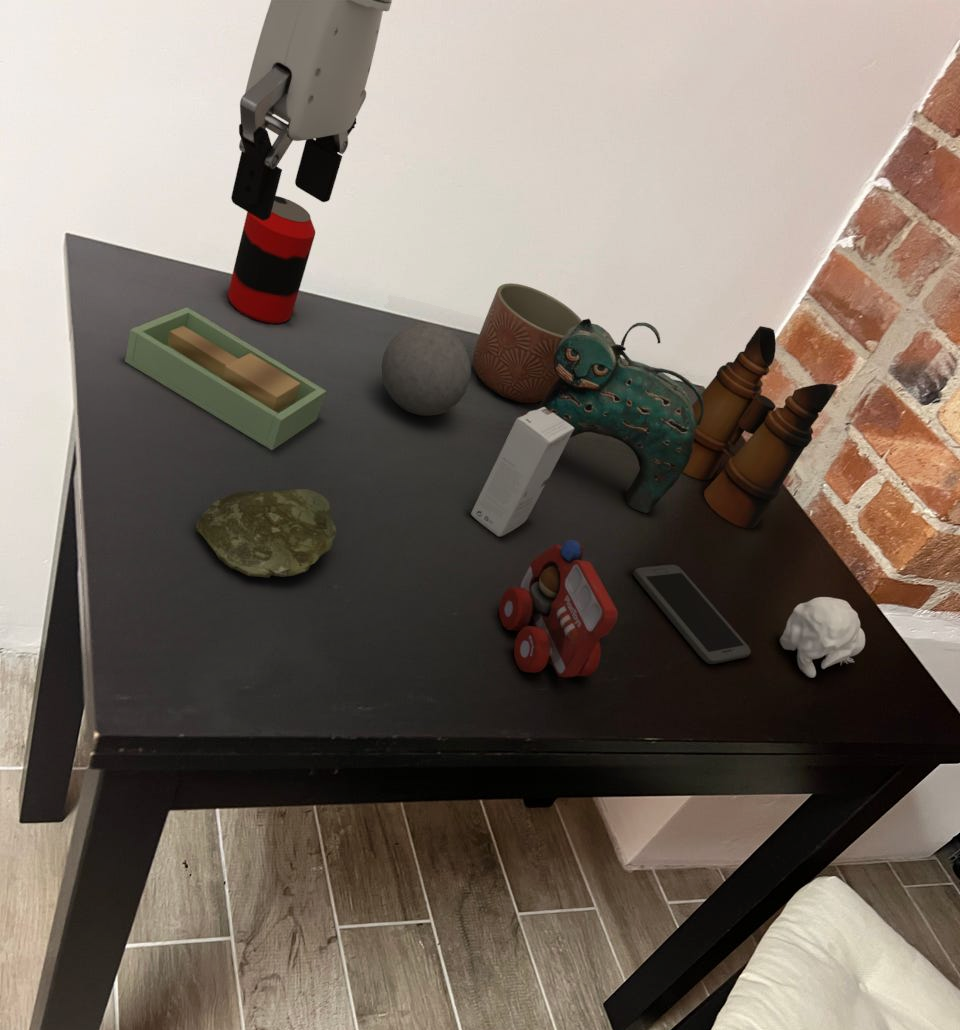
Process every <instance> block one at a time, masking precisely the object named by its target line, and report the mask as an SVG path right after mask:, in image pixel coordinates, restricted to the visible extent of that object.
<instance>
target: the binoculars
mask: <svg viewBox="0 0 960 1030" xmlns="http://www.w3.org/2000/svg"><path fill="white" fill-rule="evenodd" d="M776 347H777V344H776V333H775V330H774V329H773V328H771V327H768V326H762V325H760V326H758V328H757V329H756V330H755V331H754V333H753V334H752V336H751V337H750V339H749V341H748V342H747V343H746V344H745V348H744V351H740V352H738V354H737V355H736V357H735V359H734V360H733V361H727V362H726V363H725V365H724V364H723V365H721V366H720V367H719V368H718V370H717V371H716V375H715V376H714V378H713V379H712V380H711V381H710V382H709V384H708V385H707V387H706V388H705V389H704V390H703V391H702V393H701V395H702V398H703V403H704V413H703V417H702V421H701V424H700V425H696V431H695V435H694V441H693V451H692V455H691V458H690V460H689V463H688V464H687V466H686V468H685V469H684V471H683V472H682V473H683V474H685V475H687V476H689V477H692V478H694V479H697V480H703V481H708V480H711V479H712V478H713V477H714V475H715V473H716V471H717V470H718V469H719V466H720V464H721V462H722V460H723V458H724V456H727V457H728V460H727V462H726V463H725V465H724V468H723V470H721V472H720V473H719V474H718V475H717V476H716V477H715V478H714V480H713V481H712V482H711V483H709V485H708V486H707V487H706V488H705V489H704V491H703V497H704V500H705V501H706V503H707V504H708V505H709V507H710V508H711V509H712V510H713V511H714V512H715V513H716V514H718V516H720V517H721V518H723V519H724V520H726V521H728V522H729V523H731V524H733V525H735V526H738V527H741V528H744V529H754V528H756V527H757V526H758V524H759V523H760V521H761V519H762V518H763V516H764V514H765V513H766V511H767V509H768V507H769V506H770V503H771V502H772V500H775V499H776V497H777V496H778V495H779V493H780V492H781V487H782V485H783V483H784V482H785V480H786V478H787V477H788V475H789V474H790V472H791V471H792V469H793V468H794V466H795V464H796V463H797V461H798V460H799V457H800V456H801V454H802V453H803V451H804V450H805V448H807V447H808V446H809V445H810V444H811V442H812V440H813V436H812V435H813V434H814V429H813V428H812V426H813V424H815V422H816V421H817V420H818V418H819V417H820V416H819V415H820V414H819V413H822V411H824V408H825V407H826V405H827V404H828V403H829V402H830V400H831V399H832V397H833V395H834V393H835V392H836V390H837V388H838V385H837V384H832V383H817V384H812V385H807V386H803V387H800V388H797V389H794V391H793V394H792V395H788V396H787V397H786V398H785V400H784V403H785V405H784V406H783V407H776V403H774V401H773V400H771V399H770V398H769V397H767V396H766V395H763V394H762V392H763V389H762V387H763V385H764V383H763V381H762V378H763V377H764V376H767V375H768V374H769V373H770V368H769V367H771V366H772V364H773V362H774V360H775V357H776ZM692 407H693V411H694V416H695V419H697V420H698V419H699V417H700V412H701V408H700V404H699V400H698V398H697V399H696V401H695V402H694V403H693V404H692ZM744 432H746V433H748V434H751V435H750V437H749V438H748V439H747V441H745V443H744V444H743V445H742V447H741V448H740V449H739V450H738V452H736V453H734V452H733V451H732V450H731V447H734V448H735V447H736V446H737V442H738V441H739V440H740V438H741V436H742V435H743V434H744Z"/></svg>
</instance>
